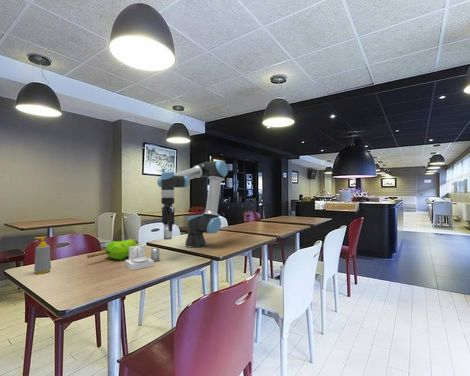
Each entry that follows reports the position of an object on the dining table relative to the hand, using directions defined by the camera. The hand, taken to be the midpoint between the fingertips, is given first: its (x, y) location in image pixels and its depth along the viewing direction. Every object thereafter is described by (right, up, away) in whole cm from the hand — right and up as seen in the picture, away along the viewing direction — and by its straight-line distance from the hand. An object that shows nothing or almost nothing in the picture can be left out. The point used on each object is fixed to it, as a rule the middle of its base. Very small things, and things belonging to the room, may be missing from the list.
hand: (168, 235), depth 157 cm
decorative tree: (-33, -14, 0) cm, 36 cm away
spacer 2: (0, -2, 0) cm, 2 cm away
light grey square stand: (-12, -14, -14) cm, 23 cm away
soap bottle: (-57, -14, -25) cm, 64 cm away
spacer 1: (-7, -14, -3) cm, 16 cm away
